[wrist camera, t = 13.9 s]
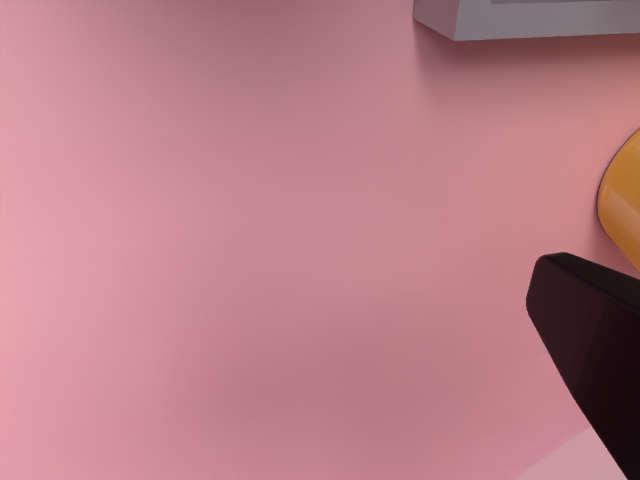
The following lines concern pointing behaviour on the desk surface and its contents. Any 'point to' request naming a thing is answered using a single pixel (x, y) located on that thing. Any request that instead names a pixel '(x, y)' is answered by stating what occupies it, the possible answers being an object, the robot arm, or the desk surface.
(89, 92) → the desk surface
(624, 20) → the tray
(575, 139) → the desk surface
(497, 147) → the desk surface
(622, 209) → the plant pot
